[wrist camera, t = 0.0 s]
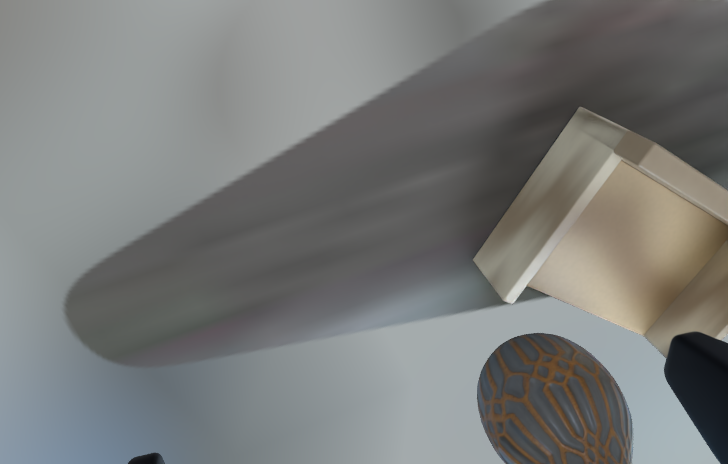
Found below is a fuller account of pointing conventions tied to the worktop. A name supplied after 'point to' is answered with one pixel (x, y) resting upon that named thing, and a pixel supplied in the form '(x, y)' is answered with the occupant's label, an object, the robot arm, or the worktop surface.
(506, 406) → the vase
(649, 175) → the shoe shelf
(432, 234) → the worktop surface
